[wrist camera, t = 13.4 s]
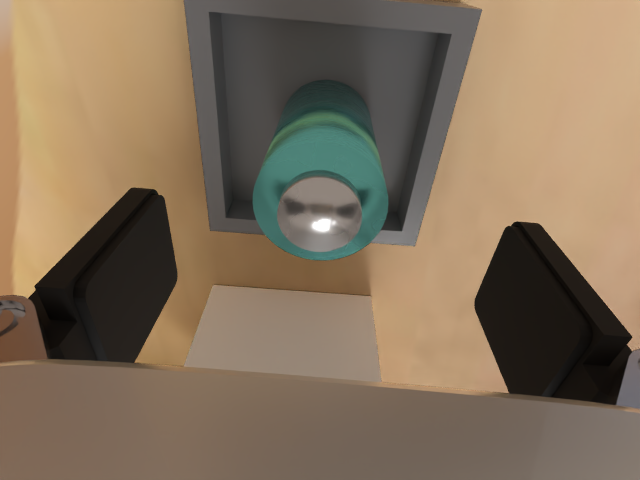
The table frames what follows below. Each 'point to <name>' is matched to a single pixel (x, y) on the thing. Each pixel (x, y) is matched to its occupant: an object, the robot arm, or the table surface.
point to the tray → (326, 64)
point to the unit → (287, 333)
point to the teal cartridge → (322, 175)
